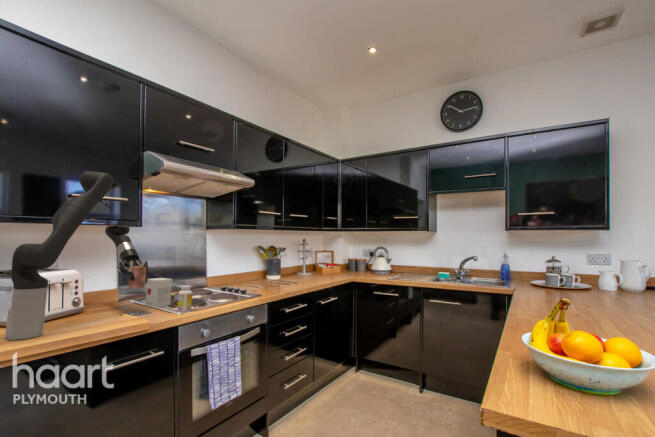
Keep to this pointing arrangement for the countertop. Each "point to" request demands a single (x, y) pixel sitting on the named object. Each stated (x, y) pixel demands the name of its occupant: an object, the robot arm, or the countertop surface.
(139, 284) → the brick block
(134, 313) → the slate card
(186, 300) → the supplement bottle
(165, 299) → the supplement box
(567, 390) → the countertop surface
